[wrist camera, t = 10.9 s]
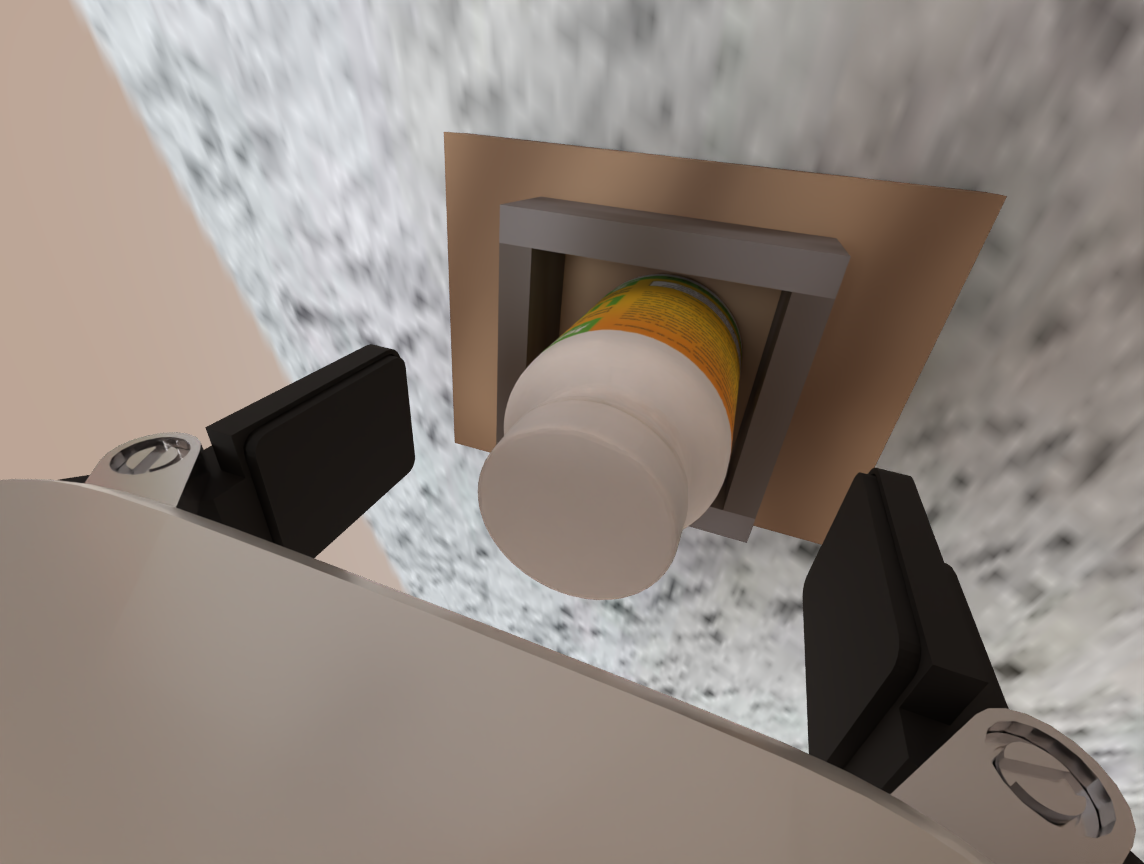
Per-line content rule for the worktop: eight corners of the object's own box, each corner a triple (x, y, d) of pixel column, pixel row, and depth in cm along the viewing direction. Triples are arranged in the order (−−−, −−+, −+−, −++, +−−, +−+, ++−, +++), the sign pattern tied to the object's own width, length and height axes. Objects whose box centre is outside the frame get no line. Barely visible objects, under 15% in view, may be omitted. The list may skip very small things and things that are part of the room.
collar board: (985, 192, 14) (1065, 207, 10) (830, 523, 20) (844, 608, 16) (466, 133, 18) (385, 128, 14) (471, 427, 24) (415, 478, 20)
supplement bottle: (634, 238, 16) (500, 324, 8) (779, 328, 16) (793, 511, 8) (562, 369, 19) (412, 529, 11) (683, 446, 19) (621, 666, 11)
